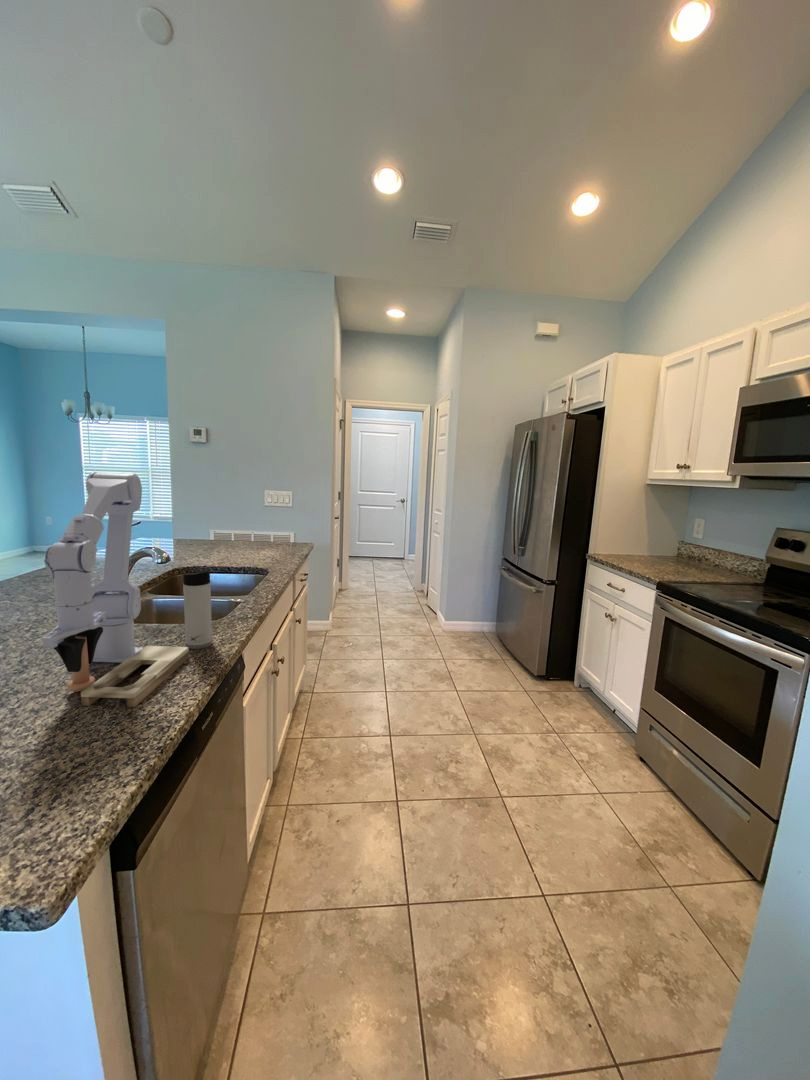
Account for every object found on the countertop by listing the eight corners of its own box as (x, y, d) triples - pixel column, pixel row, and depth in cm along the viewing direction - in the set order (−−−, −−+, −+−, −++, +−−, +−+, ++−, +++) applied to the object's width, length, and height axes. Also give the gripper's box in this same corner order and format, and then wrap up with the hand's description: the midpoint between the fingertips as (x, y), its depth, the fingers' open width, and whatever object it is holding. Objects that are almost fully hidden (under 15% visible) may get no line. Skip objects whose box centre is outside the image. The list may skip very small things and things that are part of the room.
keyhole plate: (81, 705, 83) (80, 692, 82) (147, 656, 105) (146, 645, 104) (134, 707, 83) (133, 693, 83) (188, 658, 105) (188, 647, 104)
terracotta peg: (62, 690, 85) (58, 642, 84) (78, 679, 90) (74, 634, 88) (85, 691, 85) (81, 643, 84) (100, 680, 90) (96, 635, 88)
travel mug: (195, 651, 108) (192, 574, 105) (180, 645, 112) (177, 570, 109) (218, 644, 114) (216, 570, 110) (202, 638, 117) (200, 566, 114)
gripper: (67, 615, 78) (73, 685, 80) (118, 592, 92) (122, 652, 94) (27, 614, 77) (35, 684, 80) (85, 591, 92) (90, 651, 94)
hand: (80, 667), depth 87 cm, fingers closed on terracotta peg, 3 cm apart
